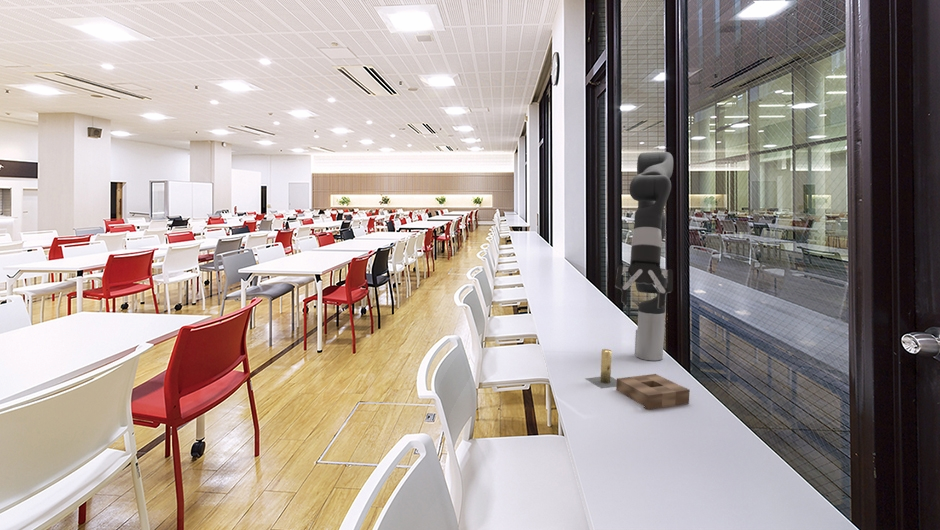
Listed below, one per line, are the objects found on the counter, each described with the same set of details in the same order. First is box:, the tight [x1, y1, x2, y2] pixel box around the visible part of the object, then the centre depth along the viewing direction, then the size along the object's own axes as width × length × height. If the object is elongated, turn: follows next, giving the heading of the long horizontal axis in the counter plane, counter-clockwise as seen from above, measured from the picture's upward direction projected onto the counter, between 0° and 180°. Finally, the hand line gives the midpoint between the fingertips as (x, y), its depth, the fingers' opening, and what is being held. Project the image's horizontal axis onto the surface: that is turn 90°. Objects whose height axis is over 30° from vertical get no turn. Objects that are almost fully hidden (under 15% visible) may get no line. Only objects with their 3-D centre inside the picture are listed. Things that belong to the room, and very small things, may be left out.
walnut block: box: [615, 373, 690, 411], centre depth 141 cm, size 14×14×4 cm
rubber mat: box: [584, 376, 617, 389], centre depth 152 cm, size 9×9×1 cm
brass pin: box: [600, 348, 613, 383], centre depth 151 cm, size 3×3×10 cm
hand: (642, 306), depth 128 cm, fingers open, 8 cm apart
